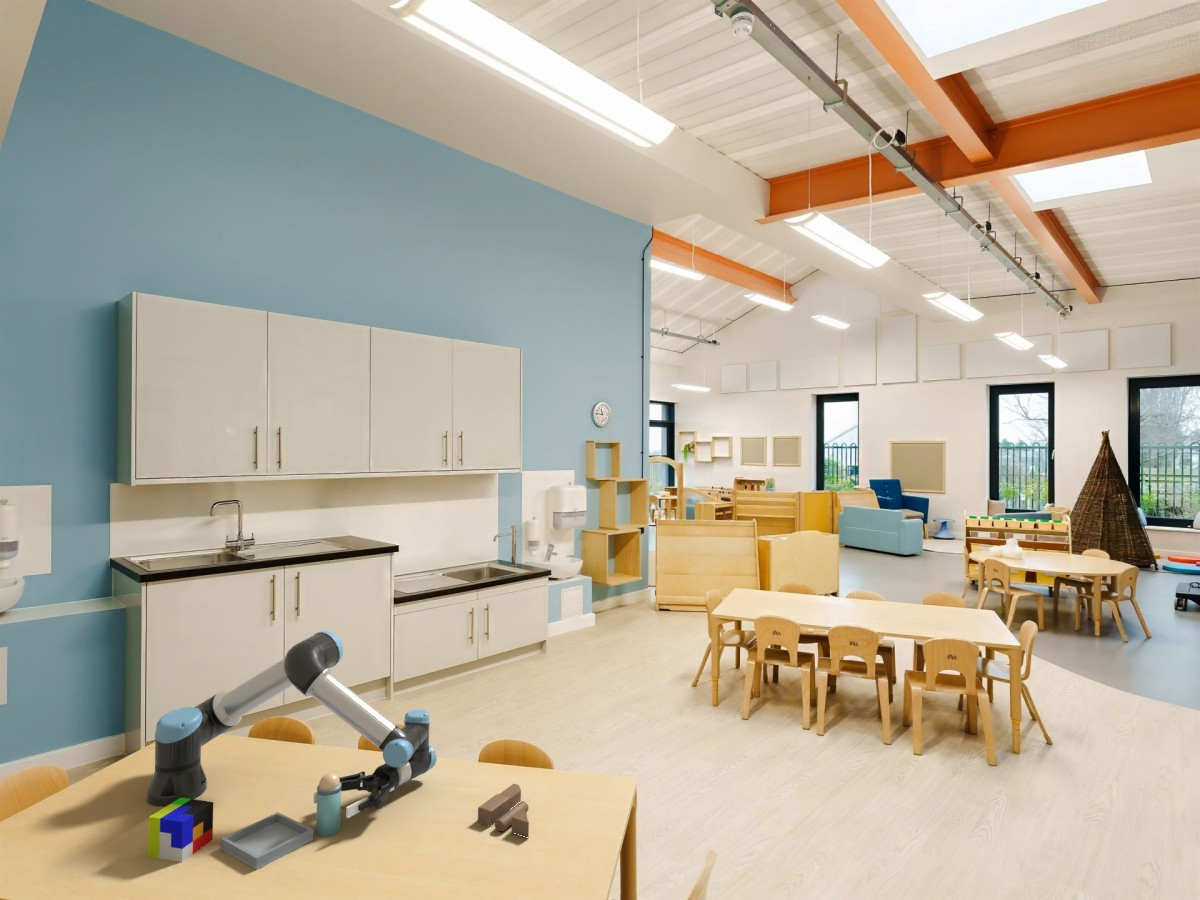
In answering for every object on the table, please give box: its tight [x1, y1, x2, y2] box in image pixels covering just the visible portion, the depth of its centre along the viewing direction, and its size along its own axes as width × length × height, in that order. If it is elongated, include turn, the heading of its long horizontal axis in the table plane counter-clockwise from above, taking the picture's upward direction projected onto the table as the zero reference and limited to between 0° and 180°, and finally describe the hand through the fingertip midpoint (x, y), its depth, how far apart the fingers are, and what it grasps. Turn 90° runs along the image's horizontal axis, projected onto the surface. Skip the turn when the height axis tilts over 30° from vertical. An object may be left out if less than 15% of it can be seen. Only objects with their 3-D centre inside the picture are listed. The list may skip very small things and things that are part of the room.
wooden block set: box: [477, 783, 530, 838], centre depth 193 cm, size 17×6×18 cm
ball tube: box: [315, 772, 342, 837], centre depth 184 cm, size 6×6×15 cm
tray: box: [220, 812, 314, 871], centre depth 177 cm, size 16×16×3 cm
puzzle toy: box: [147, 798, 214, 863], centre depth 175 cm, size 10×10×10 cm
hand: (330, 805), depth 184 cm, fingers open, 13 cm apart
